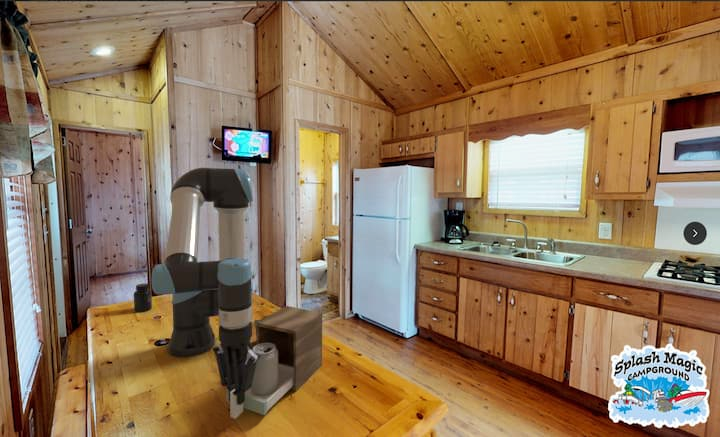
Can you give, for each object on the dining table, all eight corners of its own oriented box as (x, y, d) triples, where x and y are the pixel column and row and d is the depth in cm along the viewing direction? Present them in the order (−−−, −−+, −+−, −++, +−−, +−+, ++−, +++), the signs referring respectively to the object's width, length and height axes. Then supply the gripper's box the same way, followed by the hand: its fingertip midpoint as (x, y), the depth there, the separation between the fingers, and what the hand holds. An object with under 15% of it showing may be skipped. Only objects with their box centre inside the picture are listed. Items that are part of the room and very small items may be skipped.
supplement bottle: (148, 306, 152) (147, 281, 151) (154, 309, 148) (153, 284, 147) (131, 310, 147) (130, 285, 146) (137, 313, 143) (136, 288, 142)
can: (270, 399, 84) (270, 355, 83) (244, 394, 85) (244, 352, 84) (282, 382, 91) (282, 342, 90) (259, 378, 93) (258, 339, 91)
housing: (257, 379, 96) (256, 322, 94) (286, 356, 109) (286, 305, 108) (296, 391, 90) (296, 331, 89) (321, 365, 104) (322, 312, 103)
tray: (226, 401, 84) (226, 390, 83) (269, 367, 100) (269, 358, 99) (264, 415, 79) (264, 403, 79) (303, 377, 95) (303, 367, 95)
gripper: (202, 324, 76) (205, 416, 78) (245, 334, 71) (246, 433, 73) (227, 313, 82) (228, 398, 85) (267, 322, 77) (267, 412, 80)
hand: (236, 414), depth 79 cm, fingers closed
